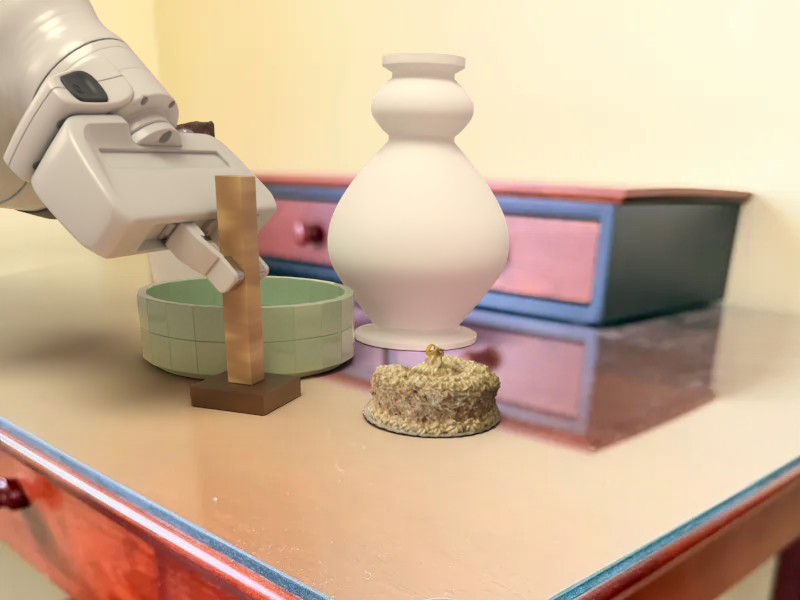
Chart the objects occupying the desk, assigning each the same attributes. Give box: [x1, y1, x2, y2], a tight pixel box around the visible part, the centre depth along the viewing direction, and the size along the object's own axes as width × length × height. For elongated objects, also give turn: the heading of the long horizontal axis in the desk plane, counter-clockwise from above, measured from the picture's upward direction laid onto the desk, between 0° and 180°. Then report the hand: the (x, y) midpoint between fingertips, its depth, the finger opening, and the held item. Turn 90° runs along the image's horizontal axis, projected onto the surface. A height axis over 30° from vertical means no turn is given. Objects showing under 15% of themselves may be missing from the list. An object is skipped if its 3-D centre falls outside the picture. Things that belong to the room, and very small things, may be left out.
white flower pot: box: [147, 243, 220, 283], centre depth 89 cm, size 10×9×13 cm
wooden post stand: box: [189, 175, 302, 416], centre depth 58 cm, size 6×6×16 cm
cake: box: [362, 344, 502, 438], centre depth 58 cm, size 10×10×5 cm
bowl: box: [136, 275, 355, 380], centre depth 73 cm, size 19×19×6 cm
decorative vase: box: [327, 52, 510, 352], centre depth 79 cm, size 18×18×25 cm
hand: (247, 282), depth 58 cm, fingers closed on wooden post stand, 2 cm apart
